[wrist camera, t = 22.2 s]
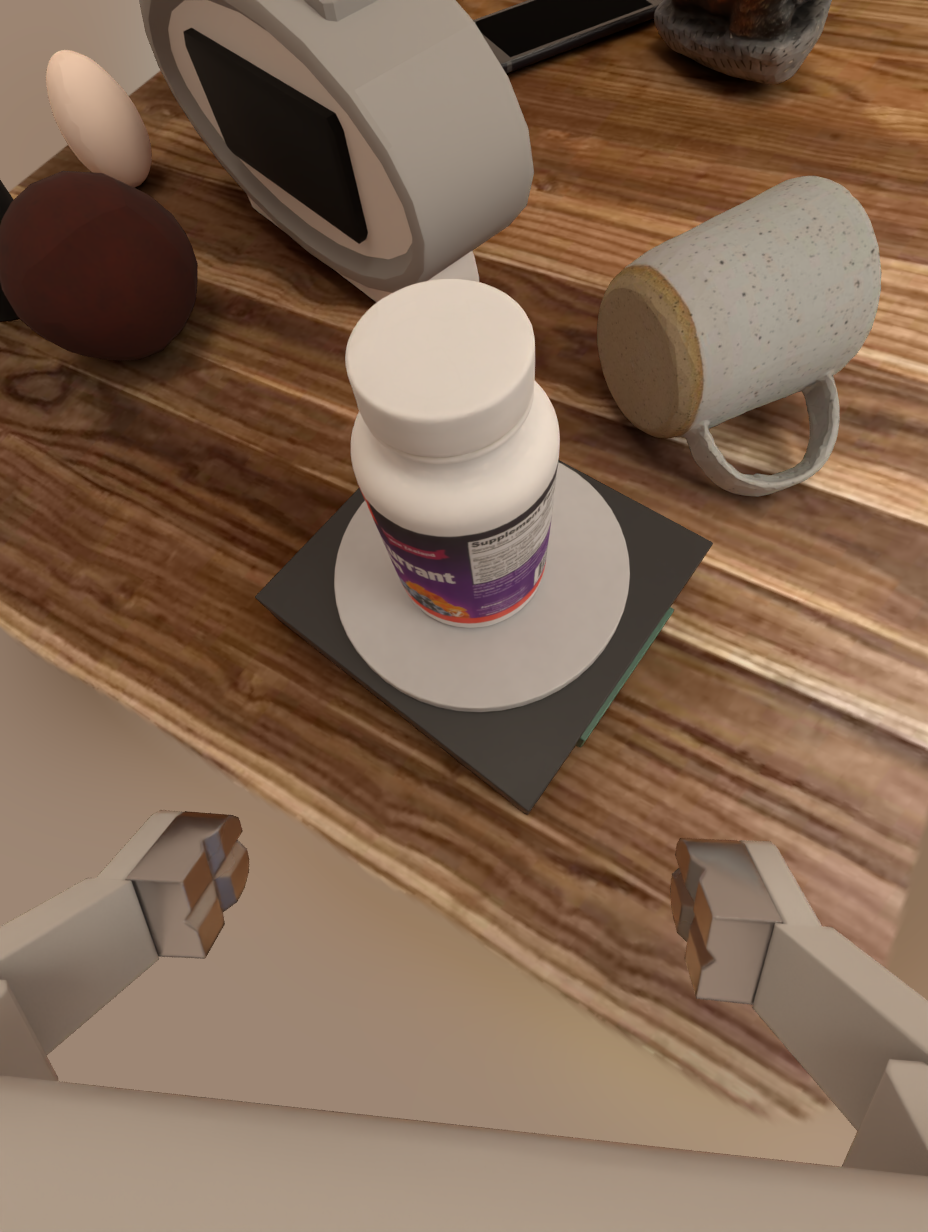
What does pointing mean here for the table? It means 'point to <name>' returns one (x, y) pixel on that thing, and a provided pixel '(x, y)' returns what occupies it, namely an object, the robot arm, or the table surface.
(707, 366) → the ceramic mug
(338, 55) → the alarm clock
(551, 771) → the kitchen scale
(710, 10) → the bison figurine
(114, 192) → the dark reddish-brown round ball
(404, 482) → the pill bottle
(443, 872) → the table surface
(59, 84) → the egg
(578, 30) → the smartphone
